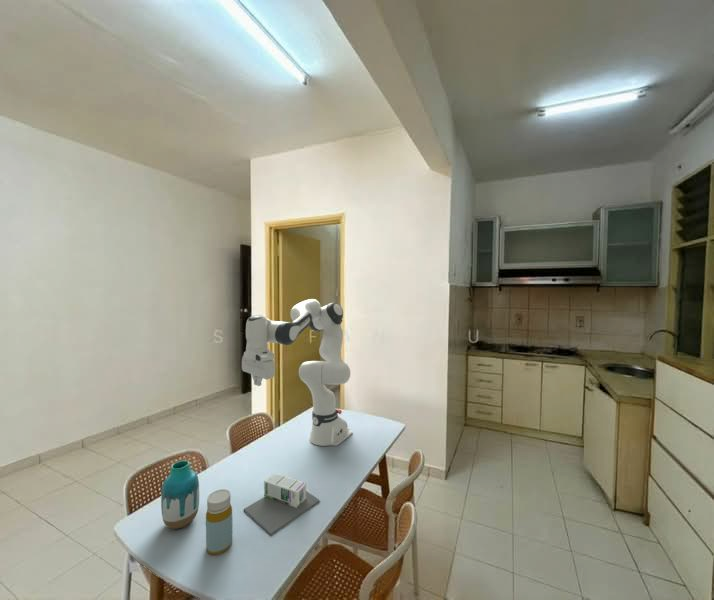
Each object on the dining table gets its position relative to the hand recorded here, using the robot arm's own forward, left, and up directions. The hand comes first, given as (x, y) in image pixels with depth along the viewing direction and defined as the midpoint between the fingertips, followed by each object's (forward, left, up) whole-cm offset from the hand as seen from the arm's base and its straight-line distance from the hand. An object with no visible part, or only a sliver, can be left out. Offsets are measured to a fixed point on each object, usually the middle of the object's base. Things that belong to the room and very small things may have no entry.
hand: (257, 385), depth 134 cm
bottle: (+32, +31, -34) cm, 56 cm away
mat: (+10, +31, -34) cm, 47 cm away
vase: (+36, +13, -34) cm, 51 cm away
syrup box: (+9, +22, -30) cm, 38 cm away
